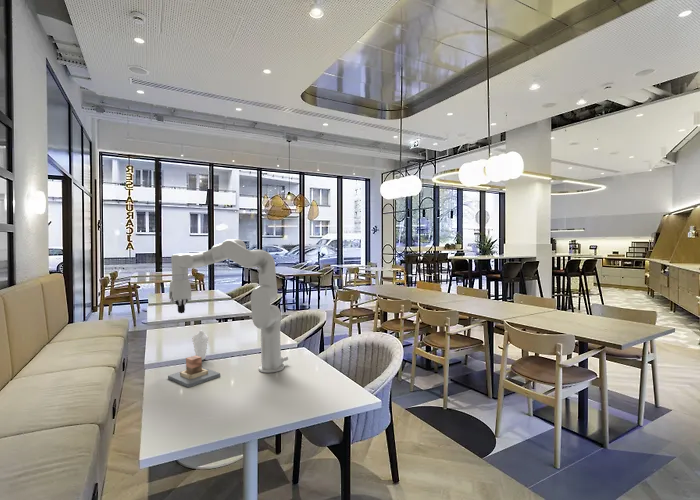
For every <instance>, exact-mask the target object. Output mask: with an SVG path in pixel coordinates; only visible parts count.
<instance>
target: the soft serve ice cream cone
mask: <svg viewBox="0 0 700 500" xmlns="http://www.w3.org/2000/svg"><path fill="white" fill-rule="evenodd" d="M191 340H192V344H193V351H194V355H196V356H199V357H202V361H203V360H205V359H206V354H207V350H208V341H209V336H208V335H207V334H206V333H205V331H204V330H203V329H200V330H199V331H198V332H197V333H196V334H194V335H193V336H192V339H191Z"/></svg>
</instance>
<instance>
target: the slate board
mask: <svg viewBox="0 0 700 500" xmlns="http://www.w3.org/2000/svg"><path fill="white" fill-rule="evenodd" d="M167 377H168V378H167V379H168V380H170V381H172V382H175V383H177V384H179V385H182V386H184V387H186V388H191V387H193V386H197V385H200V384H202V383H205V382H208V381H211V380H213V379H217V378H220V377H221V373H220V372H217V371H215V370H212V369H209V368H207V367H203V366H202V372H199V373H196V374H193V375H190V374H187V373H186V369H185V370H182V371H177V372H175V373H172V374H169V375H167Z"/></svg>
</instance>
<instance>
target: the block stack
mask: <svg viewBox="0 0 700 500" xmlns="http://www.w3.org/2000/svg"><path fill="white" fill-rule="evenodd" d="M202 361H203V360H202V357H199V356H196V354H194V355H191V356H189V357H185V368H186V369H185V370H186V373H187V374H190V375H193V374H196V373H199V372H202V367H203V366H202V365H203V364H202V363H203V362H202Z"/></svg>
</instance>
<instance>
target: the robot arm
mask: <svg viewBox="0 0 700 500" xmlns="http://www.w3.org/2000/svg"><path fill="white" fill-rule="evenodd" d="M170 259H171V280H170V282H169V283H170V284H169V289H168V297H169V300H170V303H171V304H172V303H173V304H175V305H176V306H177V312H178V313H179V314H184V313H185V311H186V306H185V305H186V304H187V303H188V302H189V301H191V300H192V286H191V282H190V279H189V278H190V277H191V274H189V271H188V269H196V268H201V267H205V266H208V265H209V266H210V265H213V264H216V263H219V262H222V261H225V260H230V261H232V262H234V263H235V264H238V265H240V266H241V267H242V268H246V269H252V268H257V267H258V268H259V269H258V286H256V287H255V288H253V290H252V292H251V294H250V308H251V310H250V311H251V320H252V323H253V325H254V326H255V328H257V329H259V330H260V355H261V359H260V360H261V364H260V365H259V366H258V369H257V370H258V371H259V372H261V373H266V374H267V373H269V374H271V373H277V372H280V371H282V370H284V369H285V364H284V362H286V361H288V360H289V357H288V356H283V357H282V351H281V350H282V349H281V347H282V345H281V323H282V312H281V309H280V308H279V307H278V306H276V305H274V304H271V303H273V302H275V301H276V300H277V297H278V286H277V285H278V283H277V275H276V273H277V272H276V271H277V270H276V262H275V259H274V257H273V256H272V254H270V253H269V252H268V251H266V250H263V249H248V248H247V245H246V243H245V242H244V241H243V240H242V239H239V238H238V239H237V238H236V239H235V238H234V239H233V238H232V239H231V238H230V239H226V240H224V241H223V242H221V243H219V244H214V245H213V246H212V247H211V249H209V250H205V251H202V252H193V253H174V254H172V255H171V257H170Z"/></svg>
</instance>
